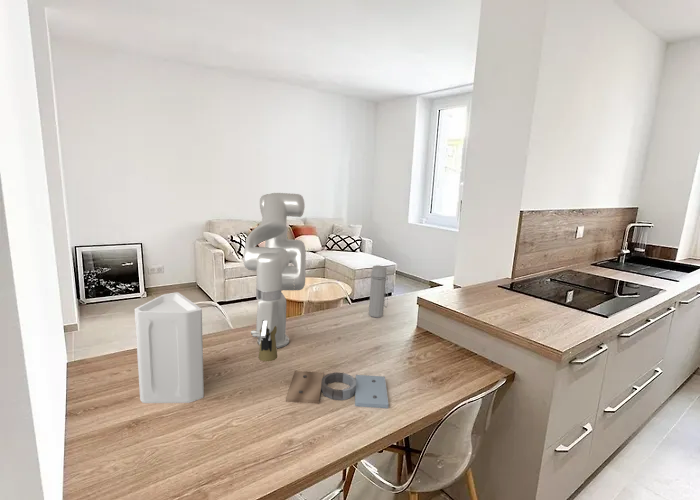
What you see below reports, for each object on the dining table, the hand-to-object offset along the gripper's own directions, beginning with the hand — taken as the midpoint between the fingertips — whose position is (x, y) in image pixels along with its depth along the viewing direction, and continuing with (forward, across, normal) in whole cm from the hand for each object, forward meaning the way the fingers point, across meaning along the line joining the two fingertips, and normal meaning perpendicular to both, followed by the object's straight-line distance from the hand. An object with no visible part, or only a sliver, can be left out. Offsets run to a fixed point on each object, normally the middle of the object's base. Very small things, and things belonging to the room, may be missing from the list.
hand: (268, 347), depth 119 cm
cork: (+3, 0, 0) cm, 3 cm away
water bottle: (+15, -66, +39) cm, 78 cm away
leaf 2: (+13, +1, +31) cm, 34 cm away
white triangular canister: (+13, +8, -29) cm, 33 cm away
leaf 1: (+13, +1, +16) cm, 21 cm away
